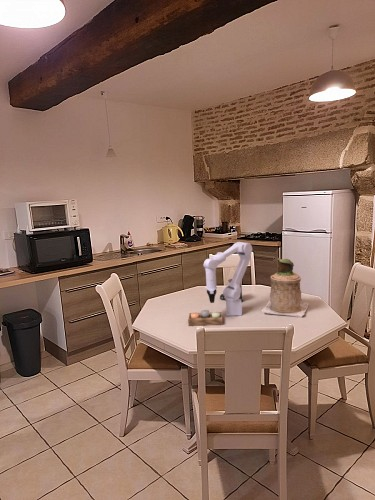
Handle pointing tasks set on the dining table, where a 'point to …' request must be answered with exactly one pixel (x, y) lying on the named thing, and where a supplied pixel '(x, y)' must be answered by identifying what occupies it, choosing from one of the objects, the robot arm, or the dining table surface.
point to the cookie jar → (285, 292)
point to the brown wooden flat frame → (205, 320)
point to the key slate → (205, 314)
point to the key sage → (215, 314)
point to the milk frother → (240, 292)
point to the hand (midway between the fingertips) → (212, 302)
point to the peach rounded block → (194, 315)
